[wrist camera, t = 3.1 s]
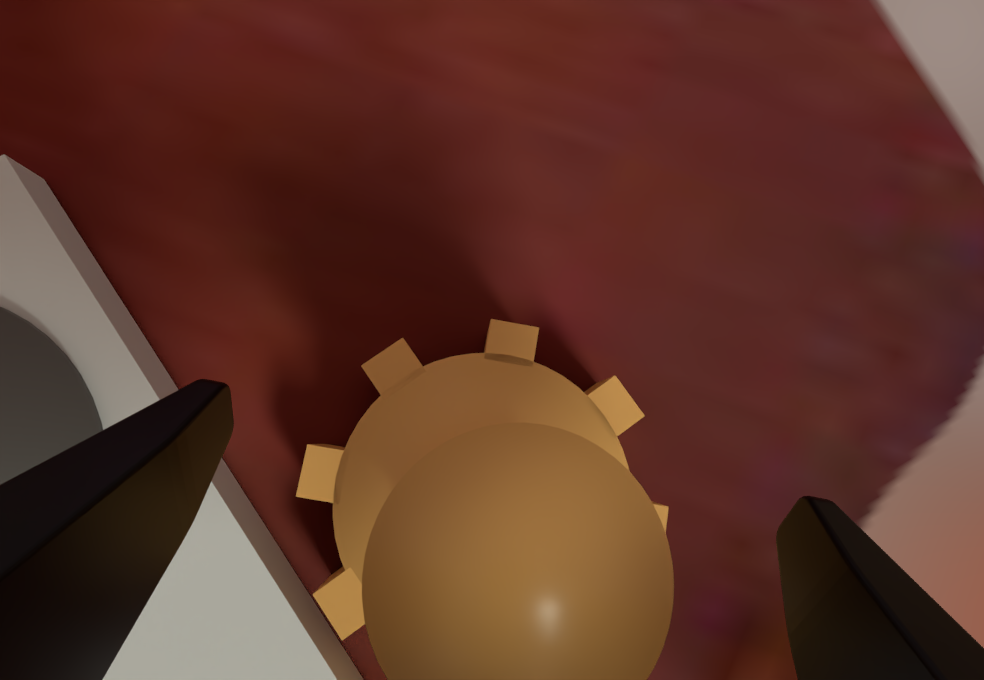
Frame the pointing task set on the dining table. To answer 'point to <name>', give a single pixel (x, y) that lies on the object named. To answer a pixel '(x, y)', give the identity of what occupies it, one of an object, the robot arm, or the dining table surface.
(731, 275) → the dining table surface
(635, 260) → the dining table surface
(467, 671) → the planet gear
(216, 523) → the carrier plate
